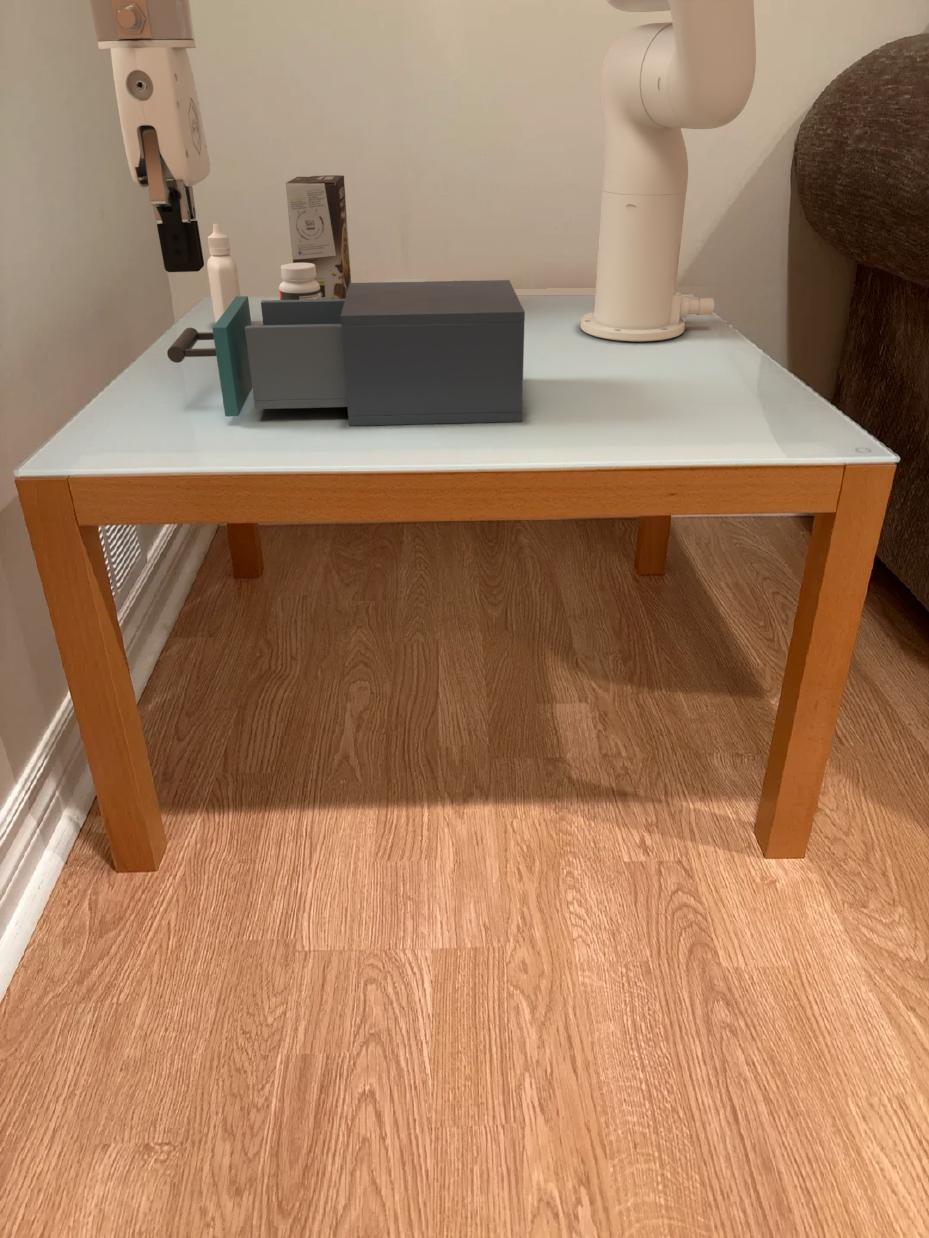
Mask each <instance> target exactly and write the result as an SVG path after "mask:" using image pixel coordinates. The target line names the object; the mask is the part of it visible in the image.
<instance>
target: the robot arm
mask: <svg viewBox="0 0 929 1238" xmlns="http://www.w3.org/2000/svg"><path fill="white" fill-rule="evenodd" d="M606 2H607V3H608V4H609V5H610V6H611V7H613V8H614V9H616V10H618V11H621V12H627V13H652V12H665V11H666V12H667V11H669V12H670V15H671V22H670V21H667V22H655V23H654V22H653V23H646V24H641V25H638V26H635V27H633V28H630V29H628V30H627V31H625V32H623V33H622V34H621V35H619V36H618V37H617V38H615V40H614V41H613V42H612V44H611V45H610V47H609V49H608V50H607V51H606V54H605V56H604V58H603V61H602V65H601V68H600V73H599V74H600V75H599V99H600V109H601V110H600V111H601V118H602V131H603V164H602V165H603V168H602V183H601V184H602V186H601V195H600V196H601V197H600V210H599V211H600V212H599V213H600V214H599V227H598V228H599V229H598V244H597V245H598V246H597V257H596V258H597V261H596V275H595V289H594V290H595V291H594V305H593V306H594V307H593V311H592V312H588V313H586V314H585V315H583V316H582V317H581V319H580V329H581V330H582V331H583V332H584V333H586V334H587V335H590V336H593V337H596V338H600V339H606V340H612V341H621V342H655V341H656V342H657V341H664V340H669V339H673V338H676V337H679V336H680V335H682V334H683V333H684V332H685V328H686V321H685V320H684V319H686V318H687V317H688V316H689V315H696V316H711V315H713V314H714V311H715V300H714V298H713V297H702V298H701V297H698V296H697V295H696V296H687V295H683V294H682V293H681V292H680V291H678V290H677V289H676V288H677V282H678V281H677V280H678V270H679V262H680V254H681V253H680V252H681V243H682V233H683V226H684V225H683V224H684V216H685V215H684V213H685V205H686V196H687V189H688V179H689V158H688V153H687V147H686V144H685V143H686V142H685V139H684V135H683V132H682V129H689V130H712V129H718V128H721V127H724V126H726V125H729V124H730V123H731V122H732V121H734V120H735V119H736V118H737V117H738V116H739V115H740V114H741V113H742V111H743V110H744V109H745V107H746V105H747V103H748V101H749V99H750V96H751V94H752V91H753V87H754V82H755V77H756V69H757V67H756V65H757V46H756V45H757V44H756V23H755V4H754V0H606ZM89 5H90V10H91V14H92V21H93V25H94V31H95V36H96V41H97V47H98V50H101V51H103V50H105V51H108V50H110V57H111V66H112V72H113V73H112V74H113V81H114V88H115V96H116V103H117V110H118V116H119V123H120V127H121V135H122V140H123V145H124V150H125V155H126V160H127V164H128V168H129V172H130V176H131V180H132V181H133V182H134V183H135V184H136V185H137V186H139V187H141V188H143V189H144V188H147V187H148V192H149V199H150V203H151V205H152V209H153V212H154V218H155V221H156V227H157V234H158V239H159V245H160V250H161V255H162V261H163V267H164V270H165V271H166V272H167V273H191V272H195V273H196V272H199V271H201V270H202V269H203V267H204V266H205V261H204V260H205V259H204V253H203V247H202V242H201V237H200V236H201V235H200V229H199V222H198V220H197V212H196V211H197V210H196V204H195V197H194V196H195V195H194V189H193V186H196V185H197V184H198V183H200V182H202V181H203V180H205V179H206V178H207V177H208V176H209V175H210V173H211V163H210V157H209V152H208V151H209V150H208V147H207V141H206V135H205V129H204V125H203V119H202V114H201V109H200V103H199V98H198V93H197V92H198V91H197V88H196V87H197V86H196V83H195V78H194V74H193V69H192V66H191V62H190V58H189V55H188V51H187V49H196V48H197V45H196V40H195V32H194V24H193V19H192V12H191V5H190V0H89Z"/></svg>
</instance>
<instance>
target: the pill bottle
mask: <svg viewBox="0 0 929 1238" xmlns="http://www.w3.org/2000/svg"><path fill="white" fill-rule="evenodd" d="M280 278H281V280H283V281H282V282H280V283H279V286H278V290H279V300H312V299H321V295H320V285H319V283H318V282H317V281H315V280H314V279H315V278H316V268H315V265H314V264H312V263H293V262H289V263H284V264H282V265H280Z"/></svg>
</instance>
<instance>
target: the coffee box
mask: <svg viewBox="0 0 929 1238" xmlns="http://www.w3.org/2000/svg"><path fill="white" fill-rule="evenodd" d="M285 187H286V199H287V200H286V201H287V212H288V222H289V223H288V224H289V232H290V233H289V235H290V245H291V256H292V257H291V258H292V263H312V264H314V265H315V268H316V278H315V279H314V280H315V281H317V282H318V283H319V285H320V295H321V299H345V298H346V294H347V291H348V287H349V283H352V275H351V260H350V248H349V231H348V219H347V204H346V202H347V201H346V188H345V176H344V175H338V174H337V175H335V174H334V175H333V174H331V175H330V174H329V175H311V176H296V177H293V179H291V180H289V181H287V182H285Z"/></svg>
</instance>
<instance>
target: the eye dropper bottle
mask: <svg viewBox="0 0 929 1238" xmlns="http://www.w3.org/2000/svg"><path fill="white" fill-rule="evenodd" d="M207 243H208V251H209V255H210V256H209V258H208V259H207V263H206V268H207V276H208V282H209V288H210V296H211V297H210V298H211V305H212V311H213V318H214V325H215V324H216V322H217V321H218V320H219V318H220V317H221V316H222V314H223V313H224V312H225V310H226V309H227V308H228V306H229V305H230V304H231V302H232V301H233V300H234V298H235V297H236V296H242V295H241V289H240V279H239V272H238V266H237V263H236V260H235V259H234V257H233V256H232V255H231V247H230V239H229V236H228V235H227V234H225V233H223V231H222V228H221V225H220V223H213V225H212V233H211V234H210V235H208V236H207Z"/></svg>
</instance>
